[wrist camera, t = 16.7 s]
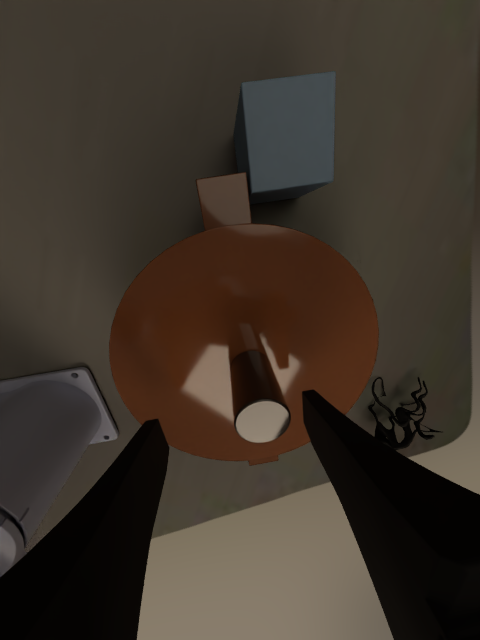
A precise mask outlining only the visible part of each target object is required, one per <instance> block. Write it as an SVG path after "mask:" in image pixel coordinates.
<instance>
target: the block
mask: <svg viewBox="0 0 480 640" xmlns="http://www.w3.org/2000/svg"><path fill="white" fill-rule="evenodd" d="M335 78H336V72H335V71H332V72H324V73H316V74H308V75H299V76H291V77H283V78H275V79H267V80H259V81H251V82H243V83H241V87H240V94H239V101H238V107H237V114H236V121H235V128H234V134H233V135H234V144H235V152H236V161H237V169H238V173H241V172H246V175H247V184H248V193H249V202H250V204H257V203H264V202H271V201H278V200H285V199H292V198H298V197H301V196H303V195H305V194H307V193H309V192H312V191H314V190H316V189H318V188H320V187H322V186H325V185H327V184H329V183H331V182H333V177H334V127H335Z"/></svg>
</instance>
